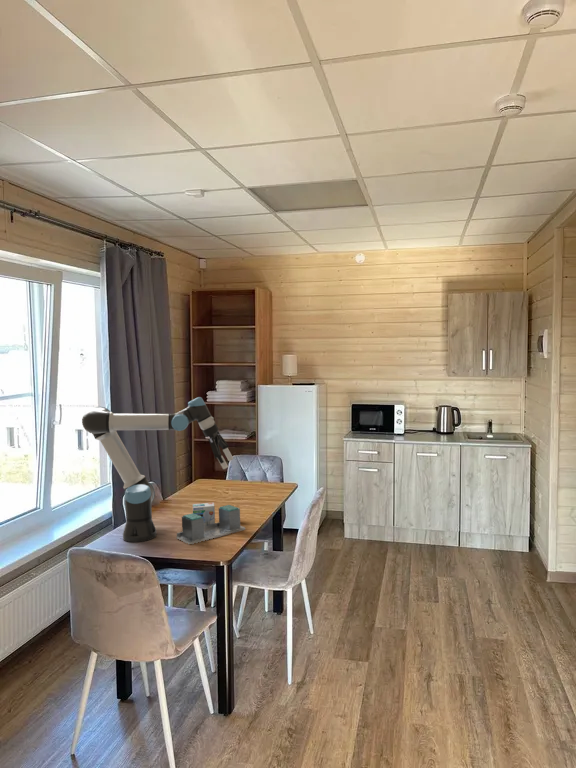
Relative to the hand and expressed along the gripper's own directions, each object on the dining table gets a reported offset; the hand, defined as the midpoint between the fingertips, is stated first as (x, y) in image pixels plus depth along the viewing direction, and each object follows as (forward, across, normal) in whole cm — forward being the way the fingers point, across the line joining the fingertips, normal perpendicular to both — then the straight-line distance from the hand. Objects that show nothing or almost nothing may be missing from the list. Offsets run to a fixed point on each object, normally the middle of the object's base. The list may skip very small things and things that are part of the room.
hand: (228, 464), depth 277 cm
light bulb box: (+21, -11, +22) cm, 33 cm away
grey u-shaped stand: (+22, -23, +16) cm, 36 cm away
